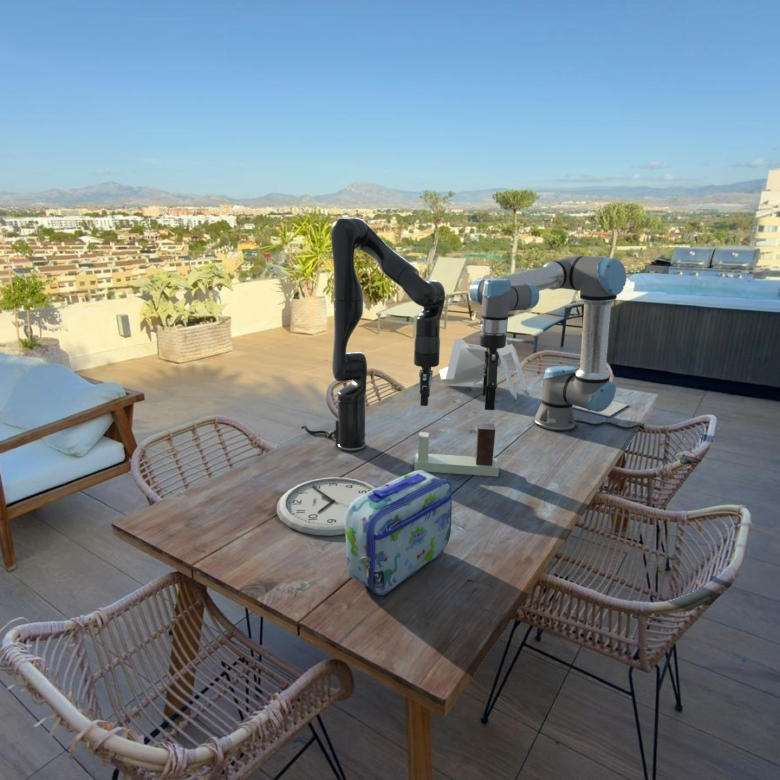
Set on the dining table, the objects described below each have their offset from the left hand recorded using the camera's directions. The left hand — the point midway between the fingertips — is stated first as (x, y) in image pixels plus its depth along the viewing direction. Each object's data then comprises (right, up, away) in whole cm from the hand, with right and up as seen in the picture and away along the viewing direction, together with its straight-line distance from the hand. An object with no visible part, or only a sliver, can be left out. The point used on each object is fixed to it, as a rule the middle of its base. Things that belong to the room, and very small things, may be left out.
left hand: (425, 401), depth 160 cm
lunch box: (-9, -37, -43) cm, 57 cm away
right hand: (+19, 0, -2) cm, 19 cm away
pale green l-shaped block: (+10, -22, +6) cm, 25 cm away
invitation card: (+81, -4, +66) cm, 104 cm away
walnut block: (+19, -19, +4) cm, 27 cm away
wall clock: (-26, -28, -17) cm, 42 cm away
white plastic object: (+31, +2, +83) cm, 89 cm away
